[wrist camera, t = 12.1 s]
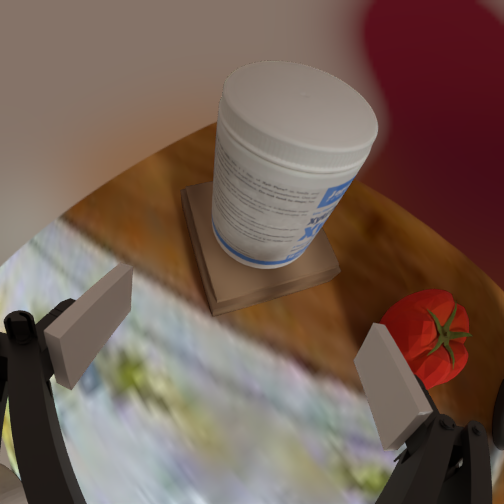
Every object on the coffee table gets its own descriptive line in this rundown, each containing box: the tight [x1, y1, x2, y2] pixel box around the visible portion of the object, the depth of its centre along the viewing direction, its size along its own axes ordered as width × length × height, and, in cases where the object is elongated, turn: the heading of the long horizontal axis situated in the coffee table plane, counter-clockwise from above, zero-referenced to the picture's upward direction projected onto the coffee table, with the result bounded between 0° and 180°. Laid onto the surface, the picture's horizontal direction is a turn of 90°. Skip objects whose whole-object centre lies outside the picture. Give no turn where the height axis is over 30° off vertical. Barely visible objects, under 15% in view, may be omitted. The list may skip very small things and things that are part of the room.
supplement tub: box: [212, 61, 378, 269], centre depth 21 cm, size 10×10×15 cm
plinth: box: [180, 181, 341, 317], centre depth 29 cm, size 13×13×4 cm
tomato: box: [379, 289, 472, 390], centre depth 24 cm, size 11×11×9 cm
